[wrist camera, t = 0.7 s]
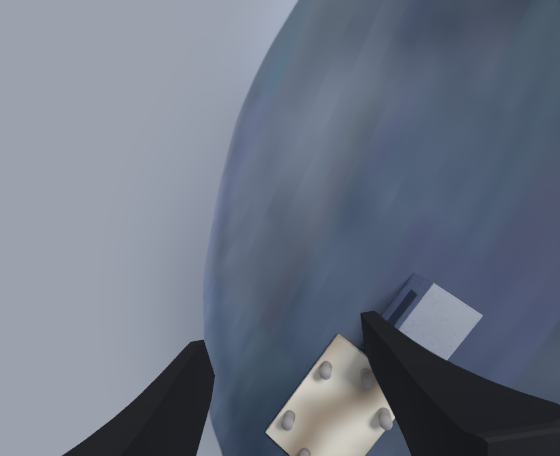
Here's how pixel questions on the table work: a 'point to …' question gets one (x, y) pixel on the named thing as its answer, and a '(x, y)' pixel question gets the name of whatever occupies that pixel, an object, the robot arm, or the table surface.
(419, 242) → the table surface
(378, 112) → the table surface
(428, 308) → the block
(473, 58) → the table surface
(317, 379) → the birch pin tray
